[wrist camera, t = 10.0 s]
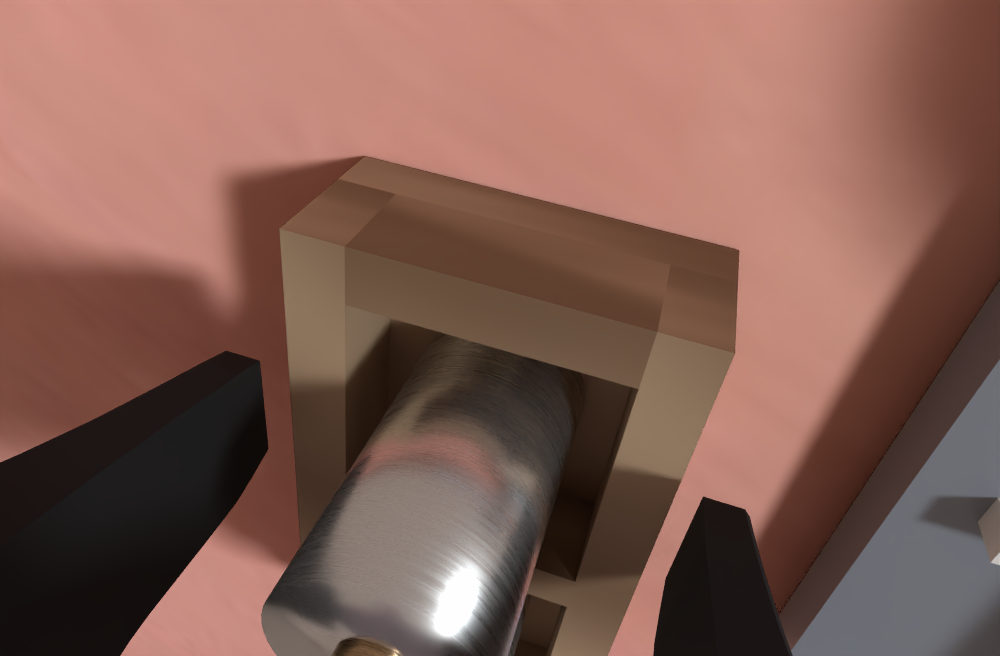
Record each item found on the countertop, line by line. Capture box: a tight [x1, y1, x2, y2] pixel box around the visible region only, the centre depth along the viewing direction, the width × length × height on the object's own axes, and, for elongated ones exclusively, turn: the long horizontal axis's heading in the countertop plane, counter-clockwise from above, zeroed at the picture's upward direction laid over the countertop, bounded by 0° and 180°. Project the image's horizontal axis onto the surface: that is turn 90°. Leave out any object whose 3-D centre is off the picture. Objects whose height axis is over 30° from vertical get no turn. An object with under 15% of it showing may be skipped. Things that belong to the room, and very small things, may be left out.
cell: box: [261, 332, 585, 656], centre depth 11 cm, size 3×3×6 cm
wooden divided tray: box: [279, 156, 739, 656], centre depth 14 cm, size 12×6×3 cm, turn 172°
